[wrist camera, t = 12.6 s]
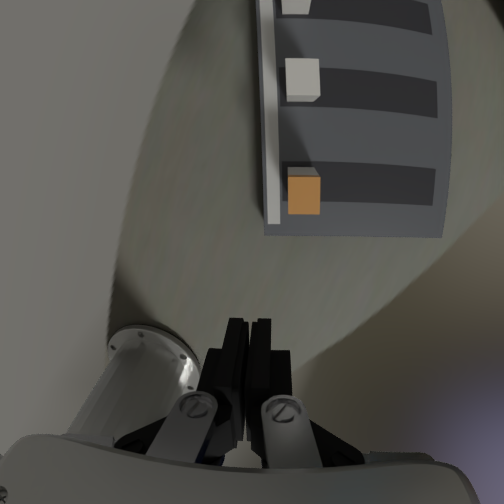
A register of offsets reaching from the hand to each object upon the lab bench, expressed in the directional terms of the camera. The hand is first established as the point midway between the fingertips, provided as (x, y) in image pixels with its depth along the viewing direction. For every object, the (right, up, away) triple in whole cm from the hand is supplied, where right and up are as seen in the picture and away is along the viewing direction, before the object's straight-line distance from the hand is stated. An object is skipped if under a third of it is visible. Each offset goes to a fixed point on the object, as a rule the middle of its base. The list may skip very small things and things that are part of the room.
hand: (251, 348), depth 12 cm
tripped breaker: (+4, +9, +11) cm, 15 cm away
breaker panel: (+9, +17, +10) cm, 22 cm away
